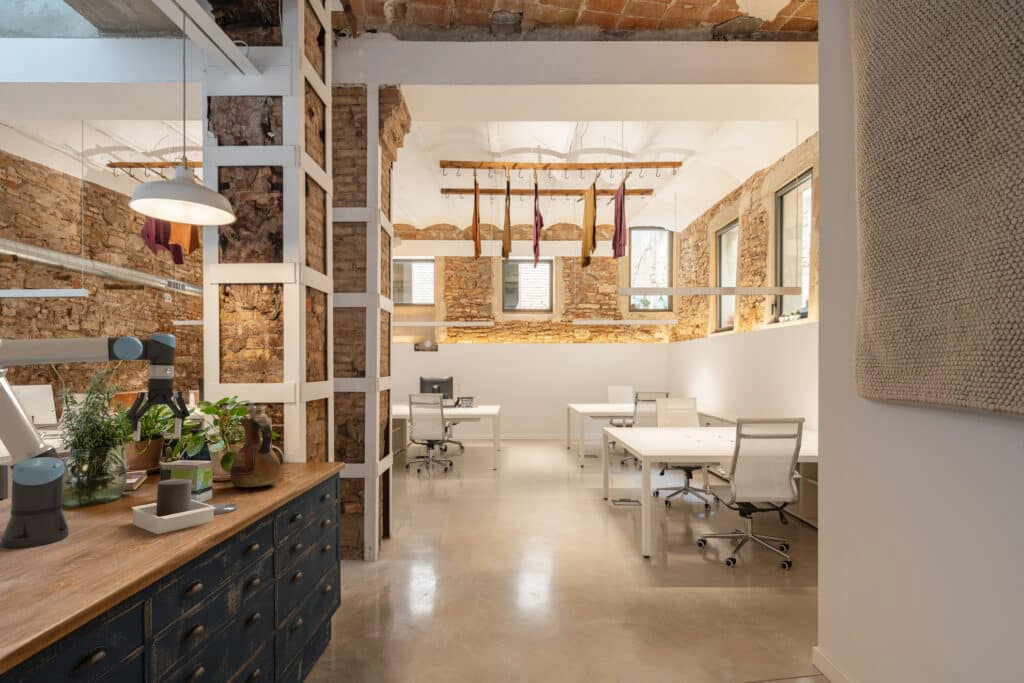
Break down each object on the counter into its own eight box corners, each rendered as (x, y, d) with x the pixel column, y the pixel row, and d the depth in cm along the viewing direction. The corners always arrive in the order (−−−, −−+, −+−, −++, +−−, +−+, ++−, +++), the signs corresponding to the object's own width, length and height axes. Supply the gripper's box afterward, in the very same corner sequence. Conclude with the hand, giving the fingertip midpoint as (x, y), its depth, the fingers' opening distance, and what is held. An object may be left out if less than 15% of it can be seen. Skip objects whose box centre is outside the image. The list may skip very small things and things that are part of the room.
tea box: (213, 498, 217) (214, 460, 218) (195, 504, 207) (197, 464, 208) (177, 497, 219) (178, 459, 219) (158, 503, 209) (159, 463, 209)
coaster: (210, 516, 192) (210, 513, 192) (192, 511, 198) (192, 508, 198) (243, 509, 202) (243, 506, 202) (225, 504, 208) (225, 501, 208)
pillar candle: (160, 529, 177) (162, 481, 177) (152, 522, 183) (154, 476, 184) (194, 523, 184) (196, 477, 184) (184, 517, 190) (187, 473, 191)
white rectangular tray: (162, 535, 170) (162, 519, 170) (128, 523, 183) (129, 507, 183) (218, 522, 184) (218, 507, 184) (183, 511, 197) (183, 497, 197)
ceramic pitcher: (258, 480, 251) (260, 413, 252) (291, 485, 242) (293, 415, 243) (219, 488, 233) (221, 417, 234) (252, 494, 224) (254, 419, 225)
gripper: (127, 378, 182) (123, 443, 181) (202, 378, 204) (199, 436, 203) (116, 377, 186) (112, 441, 185) (190, 377, 208) (187, 434, 207)
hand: (157, 438), depth 194 cm, fingers open, 13 cm apart
